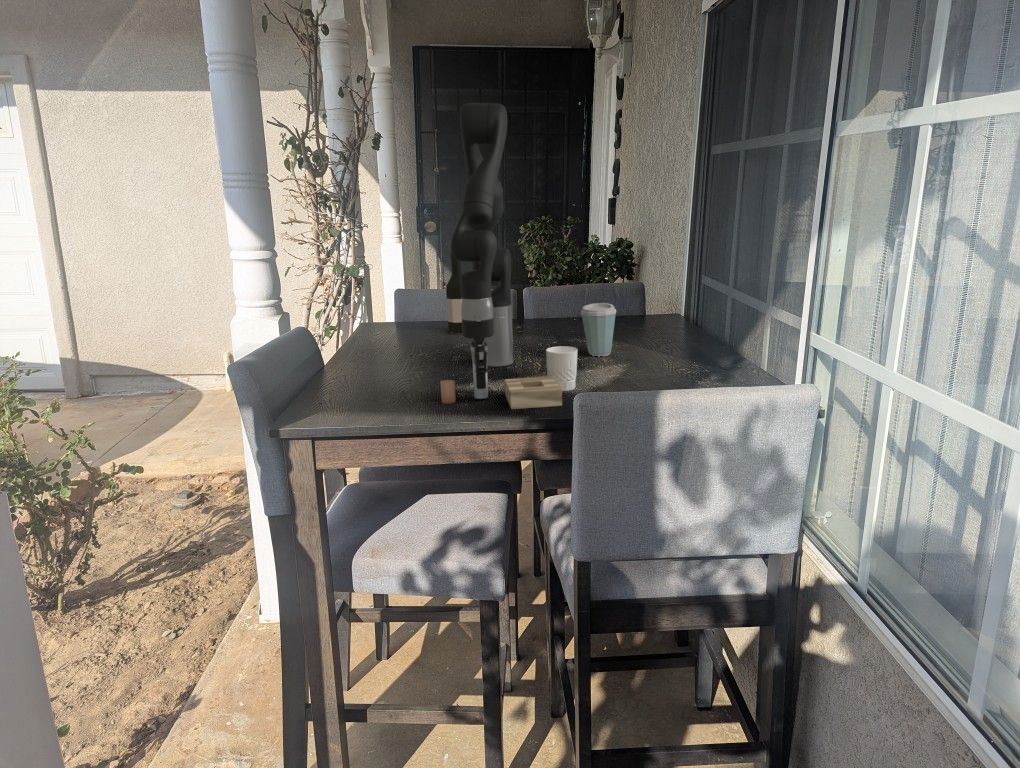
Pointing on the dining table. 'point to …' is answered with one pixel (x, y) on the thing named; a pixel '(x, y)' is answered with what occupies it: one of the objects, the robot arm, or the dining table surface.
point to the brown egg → (448, 391)
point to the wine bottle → (454, 297)
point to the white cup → (562, 366)
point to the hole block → (533, 392)
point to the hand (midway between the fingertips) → (480, 386)
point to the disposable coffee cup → (599, 327)
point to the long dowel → (477, 392)
